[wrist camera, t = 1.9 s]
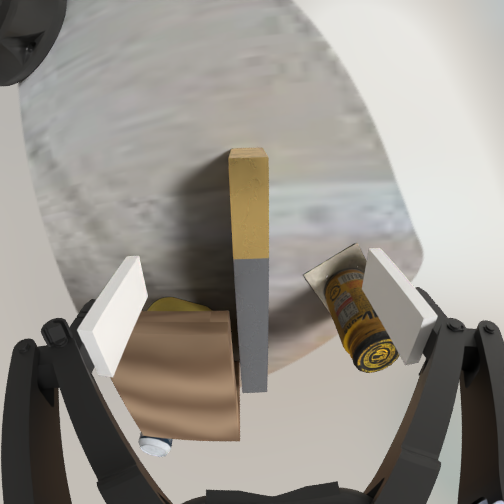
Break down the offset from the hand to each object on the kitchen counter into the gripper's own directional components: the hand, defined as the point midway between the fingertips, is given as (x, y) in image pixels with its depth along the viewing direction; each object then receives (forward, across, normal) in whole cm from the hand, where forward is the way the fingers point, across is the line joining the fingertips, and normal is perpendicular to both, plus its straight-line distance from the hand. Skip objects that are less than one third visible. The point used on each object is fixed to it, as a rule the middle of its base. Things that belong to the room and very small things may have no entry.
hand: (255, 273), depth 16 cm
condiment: (+16, +11, -11) cm, 22 cm away
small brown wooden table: (+15, -8, -16) cm, 23 cm away
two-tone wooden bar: (+15, 0, -8) cm, 17 cm away
